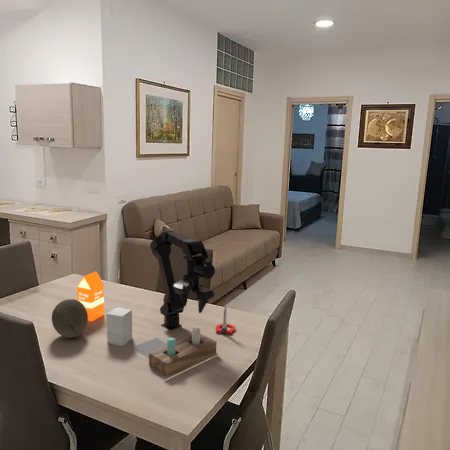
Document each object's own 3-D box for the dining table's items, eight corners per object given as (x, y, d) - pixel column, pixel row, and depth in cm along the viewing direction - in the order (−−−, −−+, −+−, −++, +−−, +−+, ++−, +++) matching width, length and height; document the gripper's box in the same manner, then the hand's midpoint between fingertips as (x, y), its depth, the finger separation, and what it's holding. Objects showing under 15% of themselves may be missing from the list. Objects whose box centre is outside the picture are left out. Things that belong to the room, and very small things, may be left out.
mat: (131, 348, 164) (131, 347, 164) (156, 338, 172) (156, 337, 172) (150, 359, 156) (150, 358, 156) (175, 349, 164) (175, 348, 164)
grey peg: (190, 354, 161) (190, 329, 159) (195, 351, 163) (196, 327, 161) (195, 357, 159) (196, 332, 157) (201, 354, 161) (201, 329, 159)
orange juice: (77, 318, 189) (76, 275, 185) (90, 311, 197) (89, 269, 193) (91, 321, 186) (90, 278, 182) (104, 314, 194) (103, 272, 190)
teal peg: (171, 362, 155) (171, 336, 153) (176, 365, 153) (177, 339, 151) (165, 365, 153) (165, 339, 151) (170, 368, 151) (170, 342, 149)
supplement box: (132, 339, 171) (132, 309, 169) (122, 347, 165) (122, 316, 162) (117, 335, 174) (116, 306, 171) (106, 343, 167) (105, 313, 164)
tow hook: (217, 325, 188) (213, 333, 179) (219, 297, 187) (215, 304, 177) (236, 327, 187) (233, 335, 178) (238, 299, 185) (235, 306, 176)
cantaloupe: (95, 331, 177) (94, 296, 174) (76, 346, 164) (75, 309, 161) (65, 326, 180) (63, 293, 177) (44, 341, 167) (42, 305, 164)
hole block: (149, 365, 152) (149, 353, 151) (198, 344, 169) (198, 332, 168) (166, 377, 145) (167, 363, 144) (216, 353, 162) (216, 341, 161)
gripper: (162, 270, 168) (161, 307, 171) (194, 282, 155) (193, 322, 158) (183, 265, 176) (182, 301, 179) (215, 276, 163) (214, 314, 166)
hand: (192, 309), depth 170 cm, fingers open, 9 cm apart
